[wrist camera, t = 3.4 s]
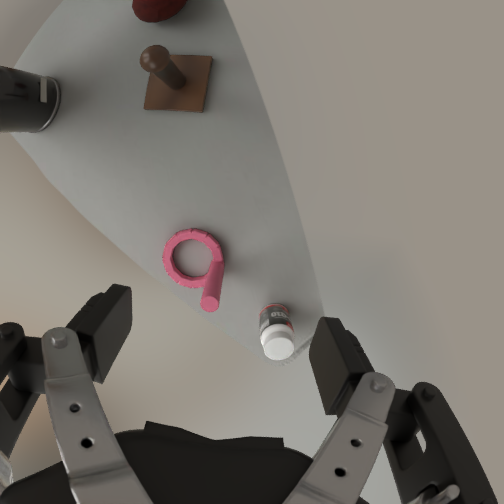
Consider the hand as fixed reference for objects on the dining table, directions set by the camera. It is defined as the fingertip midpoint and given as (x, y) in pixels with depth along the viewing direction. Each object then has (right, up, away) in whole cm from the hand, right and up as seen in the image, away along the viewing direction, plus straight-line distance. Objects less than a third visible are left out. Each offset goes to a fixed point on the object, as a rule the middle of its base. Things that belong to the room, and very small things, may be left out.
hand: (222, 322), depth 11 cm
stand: (-9, +25, +20) cm, 33 cm away
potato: (-12, +38, +16) cm, 43 cm away
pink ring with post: (-7, +2, +29) cm, 29 cm away
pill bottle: (+5, -7, +32) cm, 33 cm away
